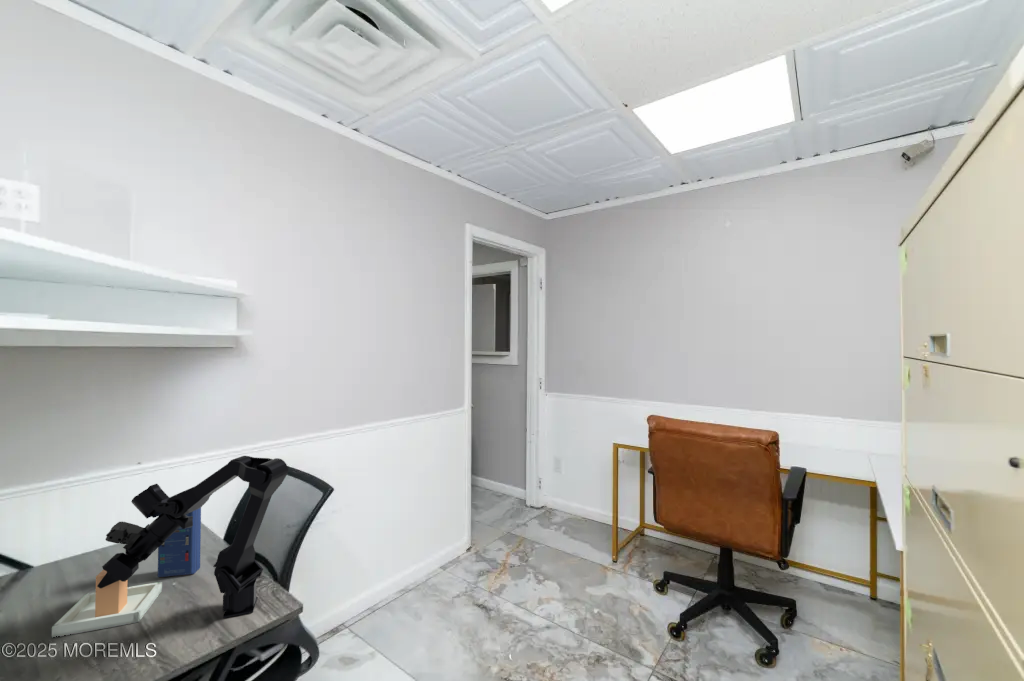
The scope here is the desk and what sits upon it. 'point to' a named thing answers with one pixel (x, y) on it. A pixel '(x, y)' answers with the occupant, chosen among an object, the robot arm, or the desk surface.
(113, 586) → the block
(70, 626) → the tray
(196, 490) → the robot arm
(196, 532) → the electronic device
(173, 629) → the desk surface
